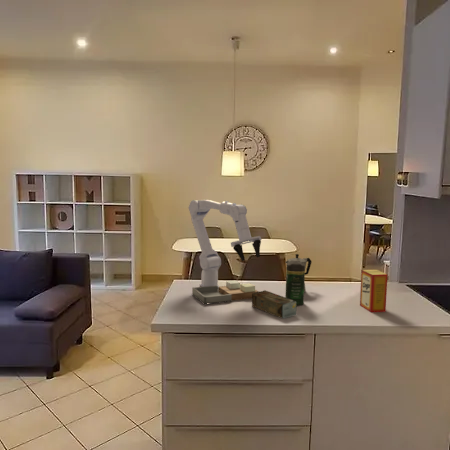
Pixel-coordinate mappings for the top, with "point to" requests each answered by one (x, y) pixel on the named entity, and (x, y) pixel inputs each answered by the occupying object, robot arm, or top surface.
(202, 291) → the tray
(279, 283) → the top surface
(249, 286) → the tile
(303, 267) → the coffee jar
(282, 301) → the beverage carton
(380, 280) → the baking soda box
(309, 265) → the coffeepot
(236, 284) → the tile
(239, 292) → the walnut board
